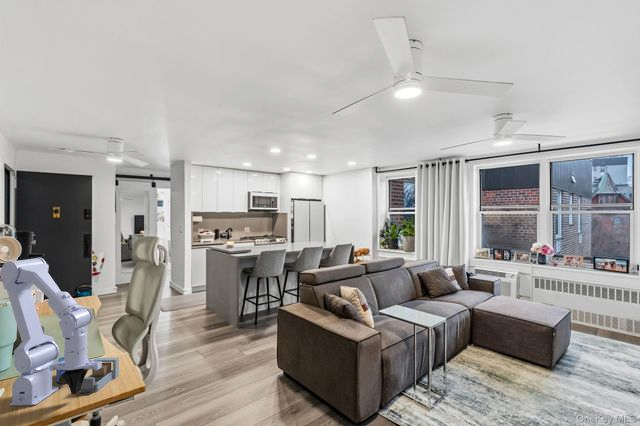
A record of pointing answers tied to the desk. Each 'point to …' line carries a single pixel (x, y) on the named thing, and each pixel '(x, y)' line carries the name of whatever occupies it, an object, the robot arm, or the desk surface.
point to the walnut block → (102, 370)
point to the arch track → (107, 378)
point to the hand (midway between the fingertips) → (75, 392)
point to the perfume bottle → (60, 373)
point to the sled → (90, 383)
